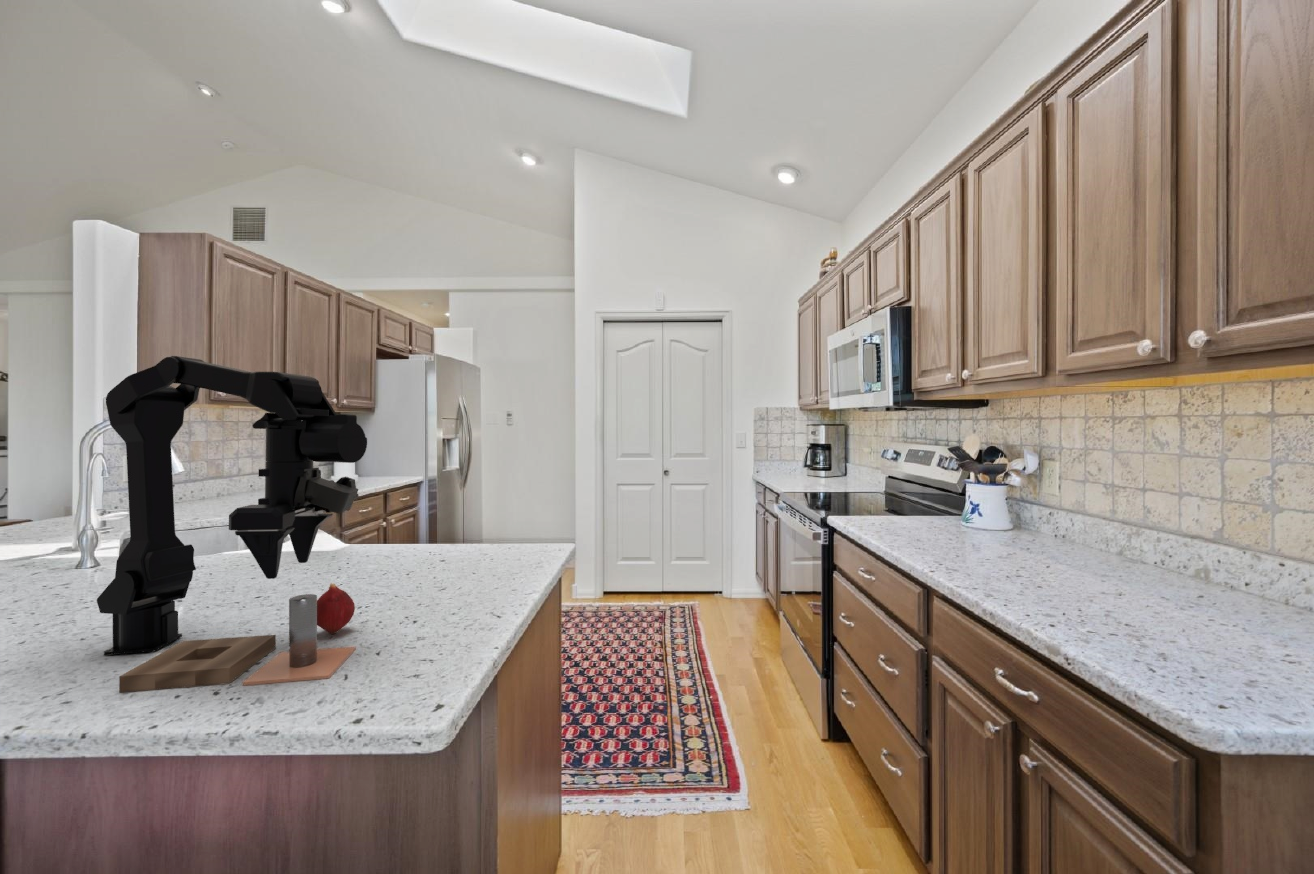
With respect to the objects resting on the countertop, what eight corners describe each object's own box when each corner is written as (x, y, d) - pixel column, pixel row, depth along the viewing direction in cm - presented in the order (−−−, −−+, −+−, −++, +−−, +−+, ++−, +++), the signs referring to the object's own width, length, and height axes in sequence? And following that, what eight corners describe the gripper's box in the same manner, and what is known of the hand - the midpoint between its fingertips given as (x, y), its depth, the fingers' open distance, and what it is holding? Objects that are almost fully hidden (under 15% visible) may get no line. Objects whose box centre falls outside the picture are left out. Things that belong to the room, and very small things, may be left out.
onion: (362, 627, 90) (362, 579, 90) (338, 640, 84) (338, 588, 84) (329, 626, 91) (329, 578, 91) (303, 639, 85) (303, 588, 85)
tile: (242, 685, 69) (242, 682, 69) (280, 654, 79) (280, 651, 79) (328, 678, 71) (328, 675, 71) (355, 649, 81) (355, 646, 81)
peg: (311, 666, 74) (311, 600, 74) (284, 668, 73) (284, 601, 73) (320, 657, 77) (320, 593, 77) (295, 658, 76) (295, 594, 76)
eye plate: (119, 692, 67) (119, 676, 67) (183, 654, 79) (183, 640, 79) (229, 683, 70) (229, 667, 70) (275, 648, 81) (275, 634, 81)
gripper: (324, 465, 70) (322, 585, 70) (372, 458, 89) (370, 554, 89) (227, 464, 68) (225, 588, 68) (296, 458, 87) (295, 556, 87)
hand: (288, 570), depth 78 cm, fingers open, 9 cm apart
